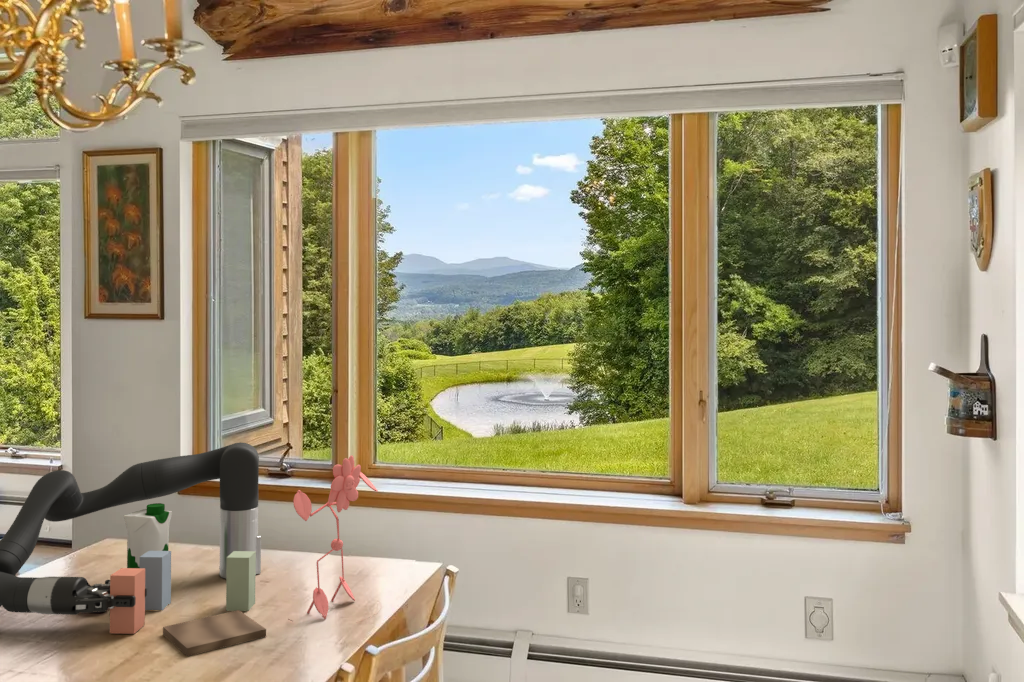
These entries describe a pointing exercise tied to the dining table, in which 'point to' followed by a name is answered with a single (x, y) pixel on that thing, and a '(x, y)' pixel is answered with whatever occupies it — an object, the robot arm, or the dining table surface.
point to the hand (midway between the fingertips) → (140, 596)
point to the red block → (128, 584)
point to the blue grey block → (157, 579)
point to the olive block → (240, 580)
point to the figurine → (342, 493)
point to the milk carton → (147, 532)
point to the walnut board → (213, 632)
